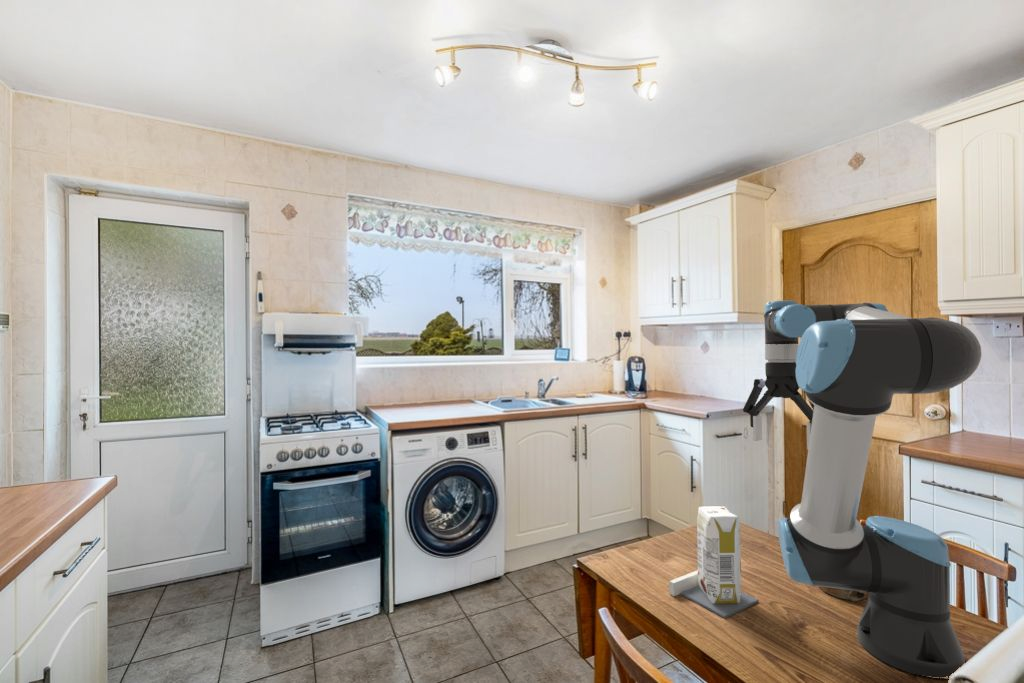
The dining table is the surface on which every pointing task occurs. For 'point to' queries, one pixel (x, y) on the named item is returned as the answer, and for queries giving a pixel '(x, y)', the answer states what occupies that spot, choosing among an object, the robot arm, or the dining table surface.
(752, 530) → the dining table surface
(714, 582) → the juice carton
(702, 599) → the mat
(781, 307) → the robot arm
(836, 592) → the bread roll
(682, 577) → the fence
